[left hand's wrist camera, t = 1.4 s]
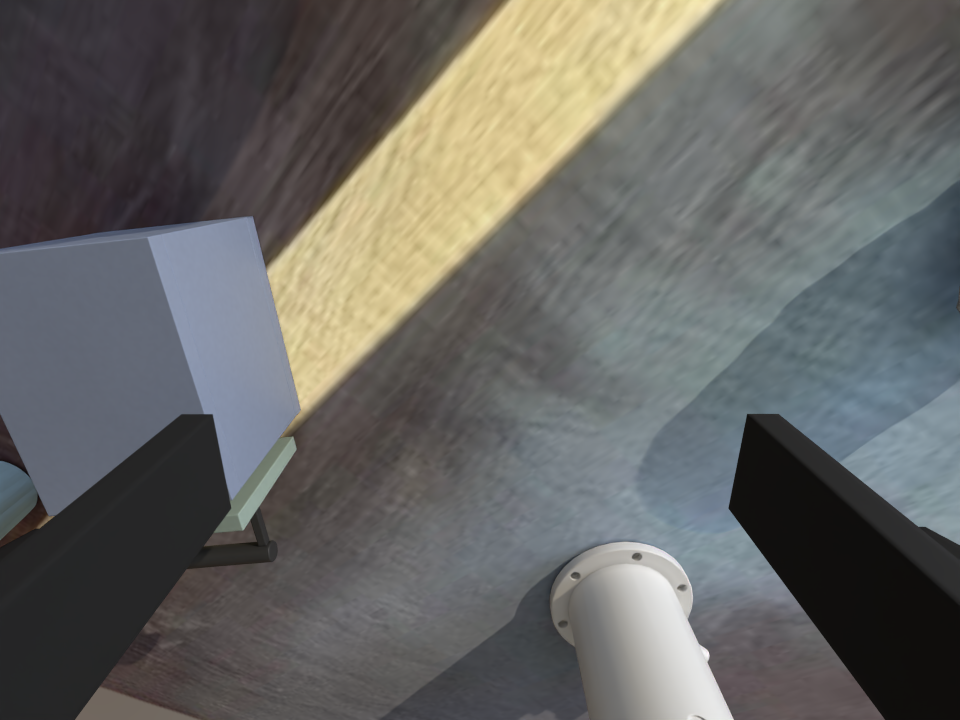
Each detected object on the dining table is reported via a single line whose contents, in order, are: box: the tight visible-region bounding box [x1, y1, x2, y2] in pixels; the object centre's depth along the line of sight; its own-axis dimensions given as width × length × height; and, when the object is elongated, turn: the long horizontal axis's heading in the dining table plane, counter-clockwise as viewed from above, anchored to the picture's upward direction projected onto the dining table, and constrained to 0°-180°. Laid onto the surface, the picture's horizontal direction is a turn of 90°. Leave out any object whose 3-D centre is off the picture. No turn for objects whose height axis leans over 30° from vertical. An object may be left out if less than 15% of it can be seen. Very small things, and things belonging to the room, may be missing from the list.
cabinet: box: [0, 216, 301, 516], centre depth 32 cm, size 15×11×12 cm
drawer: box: [187, 437, 296, 569], centre depth 34 cm, size 19×10×10 cm, turn 6°
